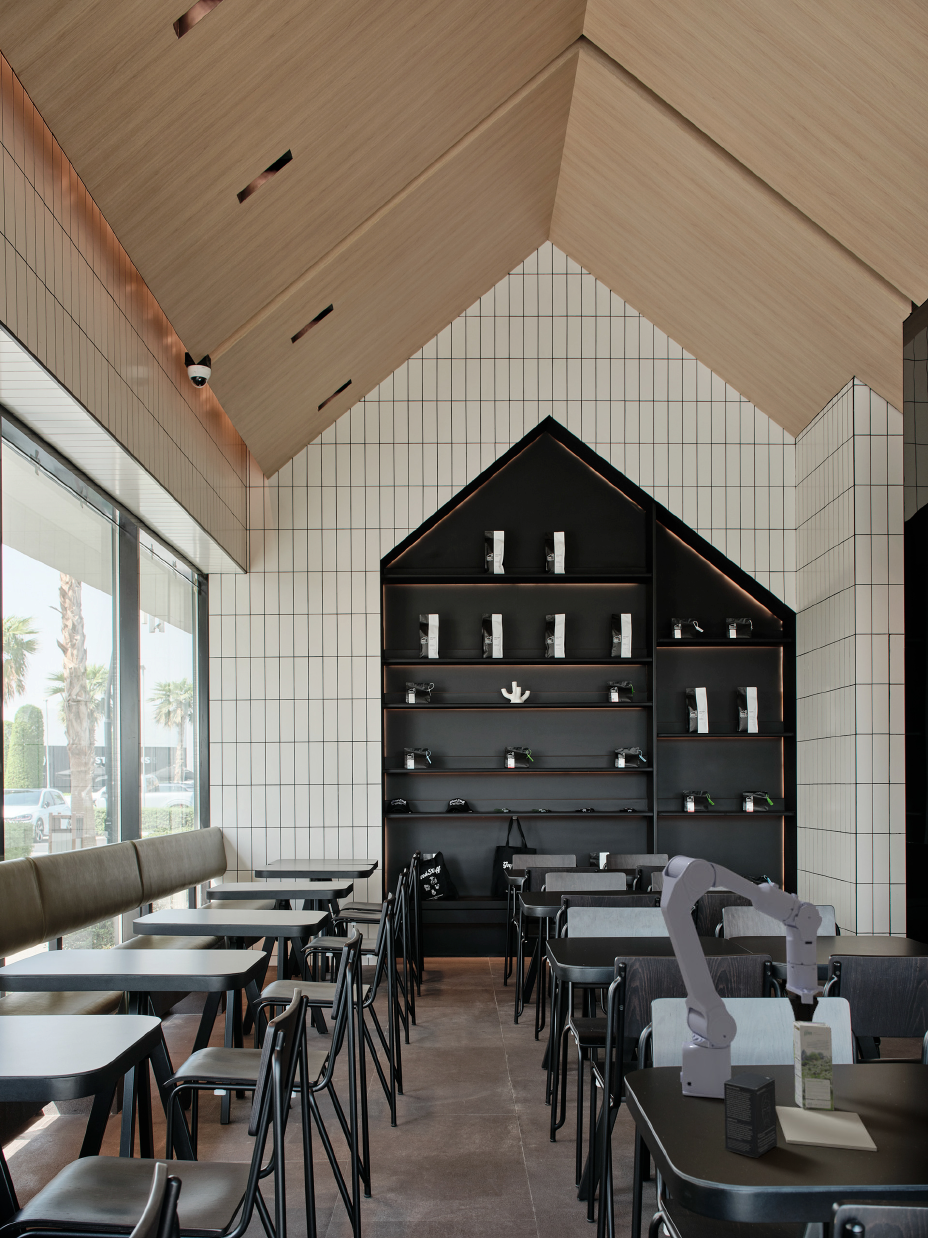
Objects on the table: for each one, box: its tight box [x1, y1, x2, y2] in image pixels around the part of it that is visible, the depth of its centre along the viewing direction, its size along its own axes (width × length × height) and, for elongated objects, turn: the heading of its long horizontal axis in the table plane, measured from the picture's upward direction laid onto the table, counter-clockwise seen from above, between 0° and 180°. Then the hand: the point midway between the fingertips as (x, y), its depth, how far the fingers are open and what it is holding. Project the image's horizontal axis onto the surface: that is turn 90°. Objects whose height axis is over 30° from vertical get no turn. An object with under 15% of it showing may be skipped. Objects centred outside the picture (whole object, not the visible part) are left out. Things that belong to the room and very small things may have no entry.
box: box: [723, 1071, 778, 1159], centre depth 165 cm, size 8×6×11 cm
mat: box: [776, 1105, 878, 1152], centre depth 174 cm, size 14×18×1 cm
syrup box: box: [792, 1020, 835, 1111], centre depth 186 cm, size 6×6×14 cm
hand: (803, 1034), depth 199 cm, fingers closed
